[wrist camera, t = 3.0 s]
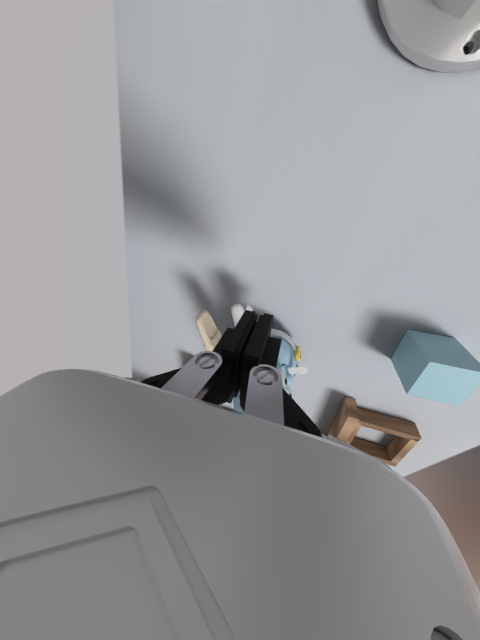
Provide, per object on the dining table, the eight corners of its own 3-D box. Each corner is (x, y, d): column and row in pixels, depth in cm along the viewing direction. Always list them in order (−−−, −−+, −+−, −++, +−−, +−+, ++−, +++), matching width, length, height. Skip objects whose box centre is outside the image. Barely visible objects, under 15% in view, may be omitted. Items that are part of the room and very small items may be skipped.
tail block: (407, 329, 21) (429, 361, 17) (454, 337, 20) (490, 374, 16) (390, 358, 23) (406, 394, 19) (432, 367, 22) (458, 406, 18)
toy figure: (326, 390, 28) (334, 542, 16) (253, 390, 32) (216, 510, 20) (302, 272, 21) (284, 379, 9) (214, 292, 26) (122, 382, 13)
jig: (193, 356, 33) (183, 370, 30) (420, 416, 26) (431, 439, 23) (197, 403, 39) (190, 418, 36) (381, 461, 32) (387, 484, 29)
